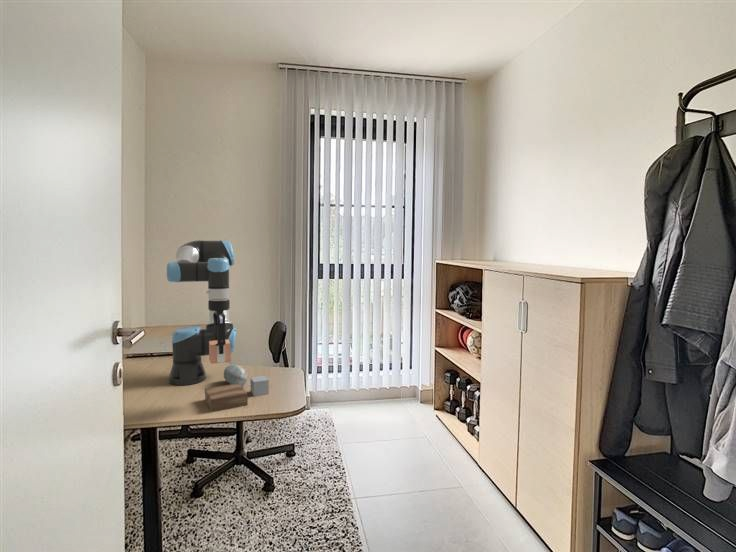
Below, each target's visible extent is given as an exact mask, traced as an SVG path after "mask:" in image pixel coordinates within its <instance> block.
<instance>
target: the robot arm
mask: <svg viewBox="0 0 736 552" xmlns="http://www.w3.org/2000/svg"><path fill="white" fill-rule="evenodd" d="M234 256H235V255H234V250H233V245H232V243H231V242H230V241H229V240H220V239H219V240H198V239H197V240H192V241H189V242H186V243H184V244H182V245H181V246H180V247H178V249H177V251H176V254H175V258H176V260H175V261H174V262H173V261H172V262H168V263H167V264H166V279H167V281H168V282H169V283H190V282H191V283H192V282H207V289H208V290H207V291H206V294H208V295H207V296H208V303H207V306H208V308H207V309H208V311H209V321H208V323H207V324H206V325H205V329H204V328H203V329H202V327H201V326H200V325H190V326H186V327H181V328H179V329H176V330H174V331H173V333H172V337H171V338H172V339H171V343H172V365H171V369H170V372H169V375H168V383H169V384H171V385H175V386H189V385H194V384H199V383H201V382H203V381H205V380H206V378H207V373H206V370H205V367H204V364H203V362H202V357H203V356H209V341H215V340H217V344H215V346H217V363H216V364H221V363H220V362H223V363H226V362H225V344H226V342H225V340H227V339H228V340H229V342H230V344H231V354H232V353H234V351H235V345H236V338H237V337H236V336H237V328H236V327H235V326H234V324H233V322H232V321H231V320H230V303H231V302H230V270H231V269H232V266H234V265H235V257H234Z"/></svg>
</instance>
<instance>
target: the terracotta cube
mask: <svg viewBox="0 0 736 552" xmlns="http://www.w3.org/2000/svg"><path fill="white" fill-rule="evenodd" d="M225 342H226V344H225V362H220V363H219V364H221V363H223V364H224V363H230V362H232V360H231V358H232V357H231V354H232V353H231V344H230V342H229V340H228V339H227V340H225ZM215 344H217V340H215V341H209V355H208V360H209V362H210V364H211V365H213V364H218V363H217V346H215Z"/></svg>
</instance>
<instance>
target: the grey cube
mask: <svg viewBox="0 0 736 552" xmlns="http://www.w3.org/2000/svg"><path fill="white" fill-rule="evenodd" d="M269 382H270V381H269V379H268V377H267V375H258V376H252V377H250V393H251V395H252V396H253V397H259V395H260V396H265V395H269V393H270V392H269V390H270V389H269V388H270V385H269Z"/></svg>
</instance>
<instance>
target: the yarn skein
mask: <svg viewBox="0 0 736 552" xmlns="http://www.w3.org/2000/svg"><path fill="white" fill-rule="evenodd" d="M223 370H224V371H223V378H224V380H225V381H226V382H227V383H228V385H230V384H236V383H239V384H240V385H241V386H242V387H243V386H244V385H245V384H246V383H247V381H248V372H247V371H246V370H245V369H244V368H243V367H242V366H241V365H237V364H235V363H233V364H229V365H228V366H226V367H225V369H223Z"/></svg>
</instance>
